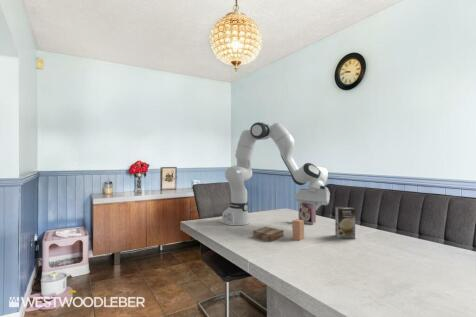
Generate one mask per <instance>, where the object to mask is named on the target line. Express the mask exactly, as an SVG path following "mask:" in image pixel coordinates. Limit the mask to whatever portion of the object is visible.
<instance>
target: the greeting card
mask: <svg viewBox="0 0 476 317" xmlns="http://www.w3.org/2000/svg"><path fill="white" fill-rule="evenodd" d="M297 203H298V204H297V205H298V210H297V211H298V219H300V220H304V224H307V225H314V223H315V224H316V223H317V221H316V220H317V219H316V218H317V212H316V211H317V210H314V206H316V205H317V204H310V203H302V206H303V207H302V208H299V202H297Z"/></svg>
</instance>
